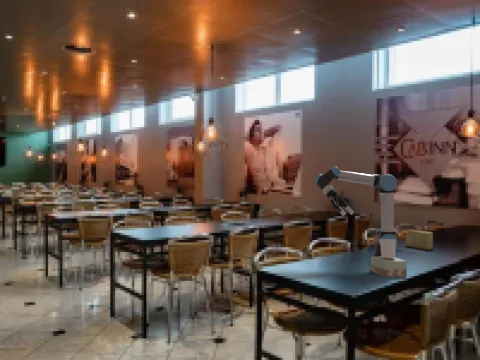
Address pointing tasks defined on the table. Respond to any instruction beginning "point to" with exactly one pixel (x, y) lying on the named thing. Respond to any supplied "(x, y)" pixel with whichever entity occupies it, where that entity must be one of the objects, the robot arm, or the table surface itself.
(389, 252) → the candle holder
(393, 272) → the bottom block
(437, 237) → the table surface
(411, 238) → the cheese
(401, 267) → the top block
